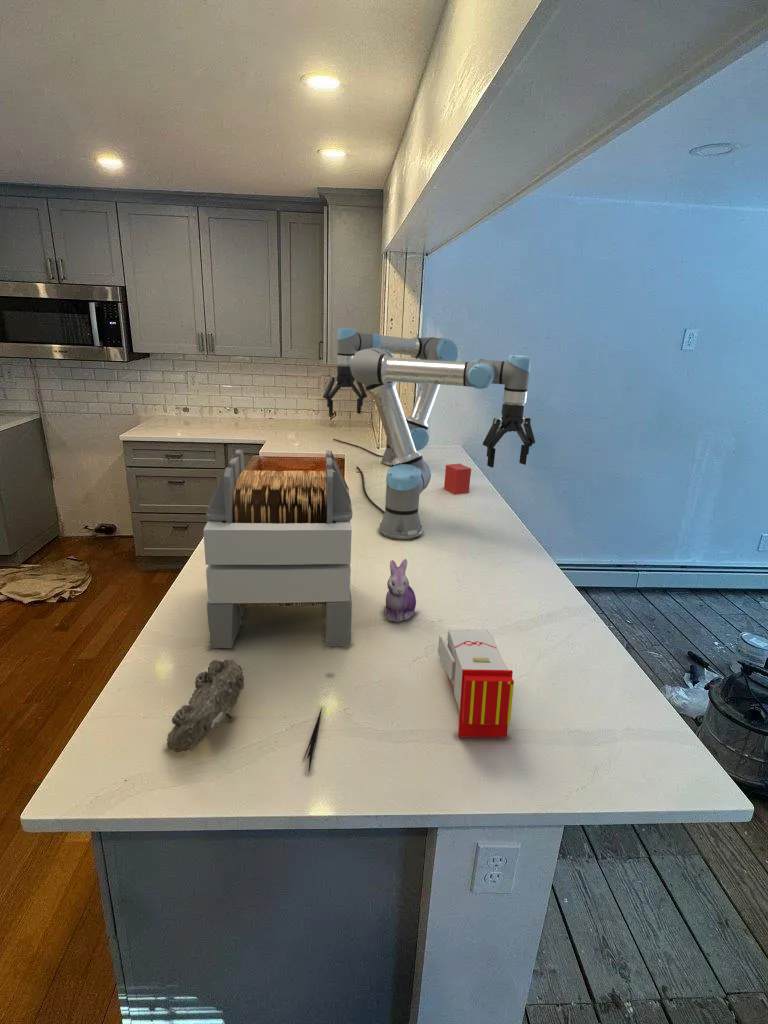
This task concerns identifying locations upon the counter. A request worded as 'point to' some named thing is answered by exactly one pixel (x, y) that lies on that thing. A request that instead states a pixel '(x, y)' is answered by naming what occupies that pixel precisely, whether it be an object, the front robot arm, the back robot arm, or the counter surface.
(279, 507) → the record crate
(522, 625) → the counter surface
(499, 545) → the counter surface
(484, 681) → the toy
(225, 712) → the fossil
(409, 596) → the figurine
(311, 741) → the feather
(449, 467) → the brick
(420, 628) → the counter surface
